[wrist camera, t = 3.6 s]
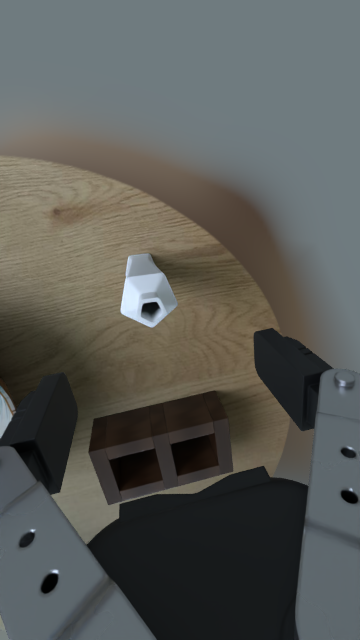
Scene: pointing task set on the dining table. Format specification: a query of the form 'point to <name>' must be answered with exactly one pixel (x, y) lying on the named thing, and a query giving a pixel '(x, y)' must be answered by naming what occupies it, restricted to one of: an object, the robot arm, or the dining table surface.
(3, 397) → the bowl
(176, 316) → the dining table surface
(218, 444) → the holder
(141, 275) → the perfume bottle
